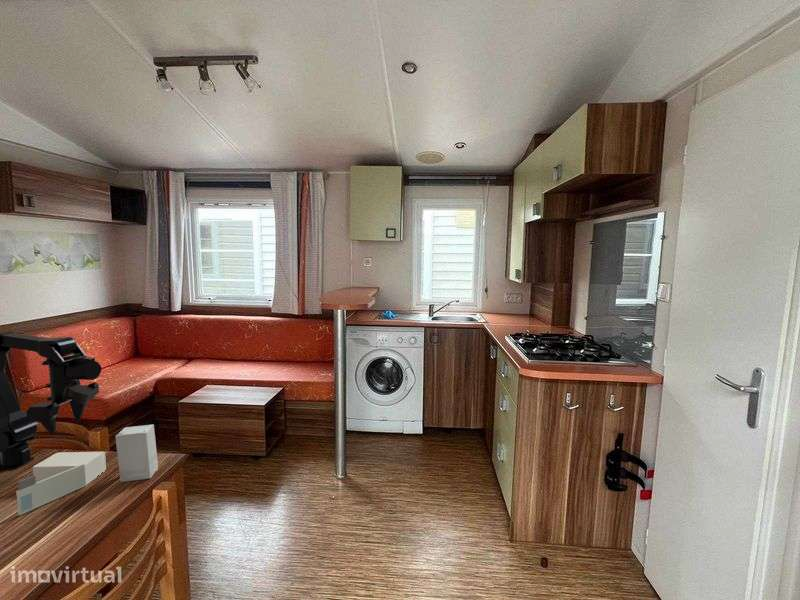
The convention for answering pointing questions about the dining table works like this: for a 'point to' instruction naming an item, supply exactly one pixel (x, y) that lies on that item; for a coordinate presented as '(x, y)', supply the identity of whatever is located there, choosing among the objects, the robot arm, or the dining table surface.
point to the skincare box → (136, 453)
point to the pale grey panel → (48, 488)
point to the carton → (71, 464)
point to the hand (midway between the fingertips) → (66, 427)
